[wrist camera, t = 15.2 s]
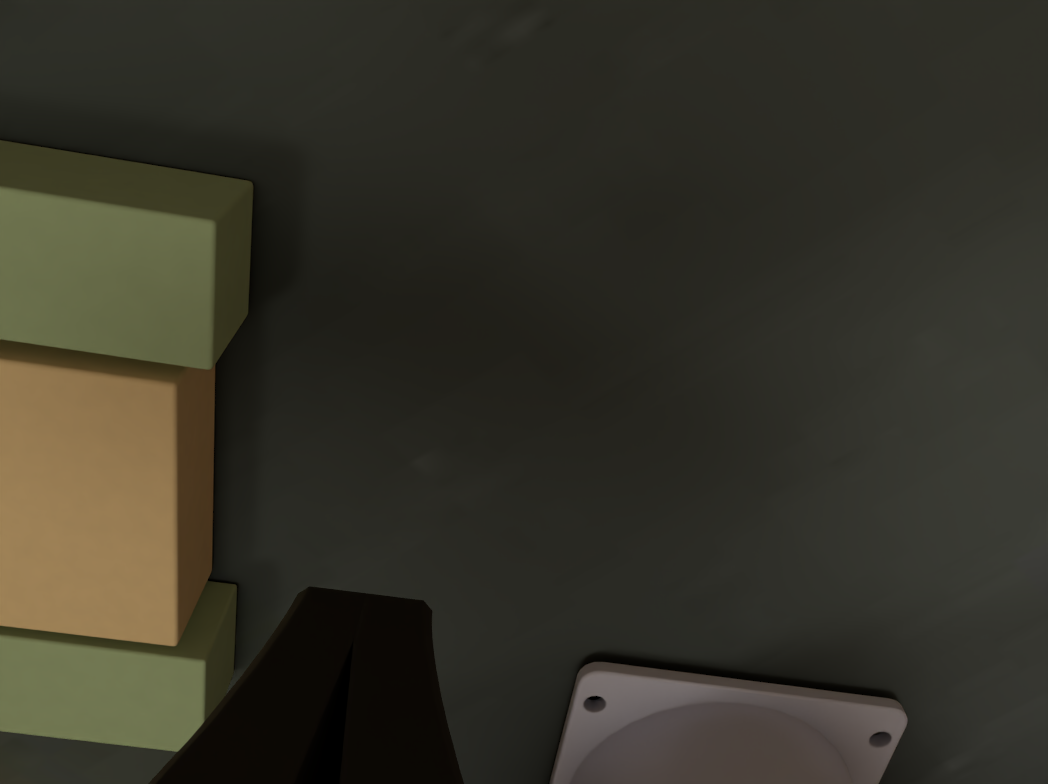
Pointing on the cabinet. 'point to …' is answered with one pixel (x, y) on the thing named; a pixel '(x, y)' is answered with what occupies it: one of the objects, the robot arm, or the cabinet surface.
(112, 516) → the beige block
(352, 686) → the robot arm
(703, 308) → the cabinet surface
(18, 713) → the green pad
